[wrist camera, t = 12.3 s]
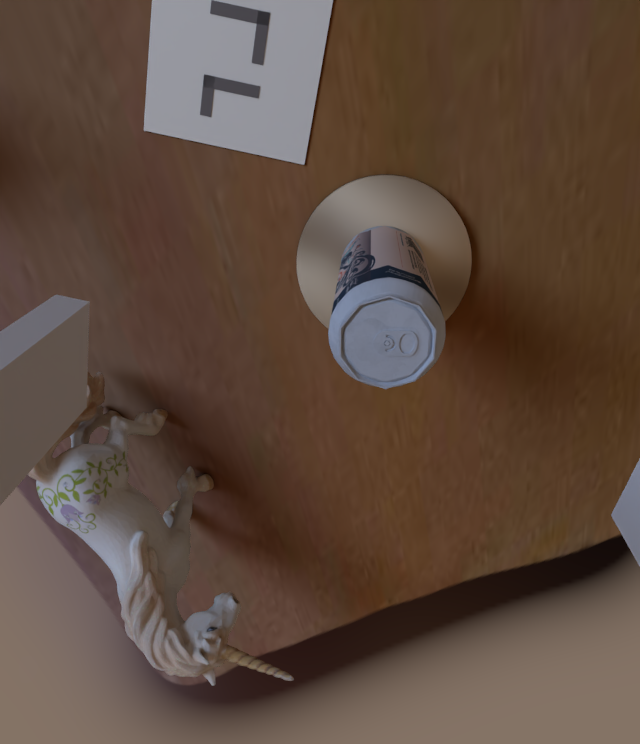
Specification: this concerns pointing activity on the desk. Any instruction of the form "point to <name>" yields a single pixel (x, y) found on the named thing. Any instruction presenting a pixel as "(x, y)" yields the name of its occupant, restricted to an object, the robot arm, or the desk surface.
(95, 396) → the unicorn figurine
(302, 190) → the desk surface
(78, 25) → the desk surface
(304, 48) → the tile
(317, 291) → the cork coaster
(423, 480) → the desk surface
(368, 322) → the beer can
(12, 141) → the desk surface
